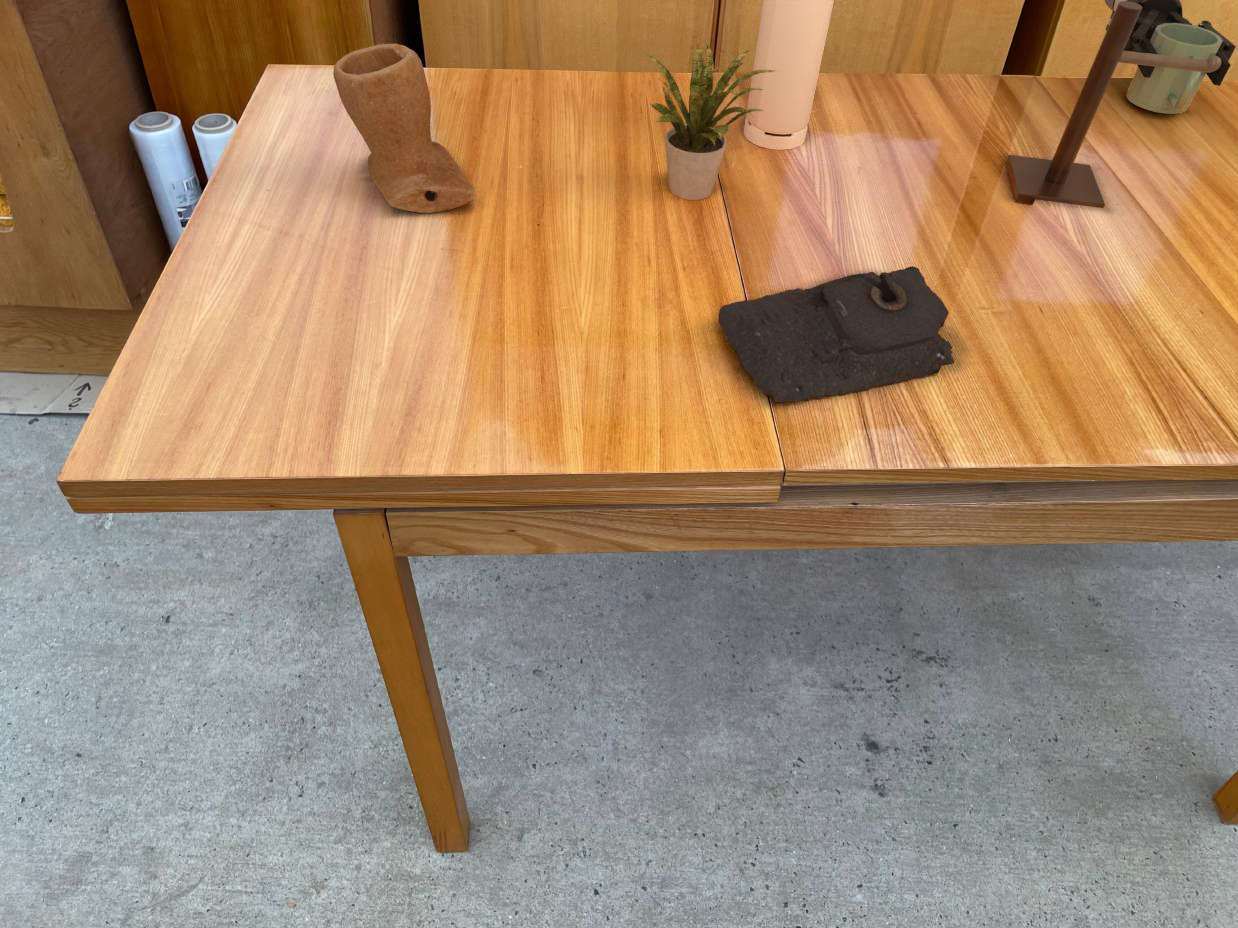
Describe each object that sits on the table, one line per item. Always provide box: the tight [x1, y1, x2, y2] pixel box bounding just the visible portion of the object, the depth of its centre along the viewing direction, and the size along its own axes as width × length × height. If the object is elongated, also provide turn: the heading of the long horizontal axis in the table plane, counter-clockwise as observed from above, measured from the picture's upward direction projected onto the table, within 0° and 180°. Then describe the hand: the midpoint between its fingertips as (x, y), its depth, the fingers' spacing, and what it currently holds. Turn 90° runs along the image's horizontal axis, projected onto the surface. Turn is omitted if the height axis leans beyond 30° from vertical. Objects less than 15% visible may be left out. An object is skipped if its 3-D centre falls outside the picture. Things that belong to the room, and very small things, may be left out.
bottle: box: [743, 0, 835, 151], centre depth 106 cm, size 8×8×28 cm
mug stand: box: [1005, 1, 1221, 209], centre depth 102 cm, size 17×10×21 cm, turn 80°
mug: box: [1125, 23, 1223, 115], centre depth 120 cm, size 12×8×9 cm
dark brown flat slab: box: [717, 266, 956, 403], centre depth 85 cm, size 15×22×5 cm
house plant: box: [646, 39, 779, 201], centre depth 99 cm, size 14×14×16 cm
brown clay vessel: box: [332, 43, 477, 214], centre depth 97 cm, size 15×12×15 cm
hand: (1186, 71), depth 117 cm, fingers closed on mug, 8 cm apart
